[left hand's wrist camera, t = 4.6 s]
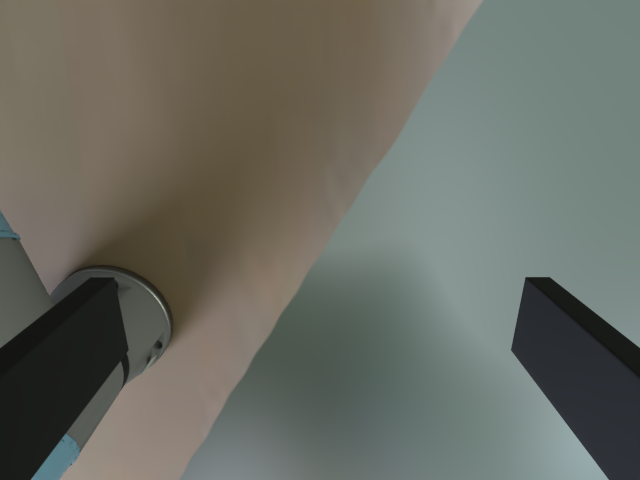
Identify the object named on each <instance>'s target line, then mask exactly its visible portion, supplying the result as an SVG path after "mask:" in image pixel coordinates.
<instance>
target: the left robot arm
mask: <svg viewBox="0 0 640 480" xmlns="http://www.w3.org/2000/svg"><path fill="white" fill-rule="evenodd" d="M20 239H21V238H20V236H19V235H18V234H16V233H14V232H13V230H12V229H11V227H10V225H9V224H8V222H7V221H6V219H5V217H4V216H3V214H2V213H1V211H0V480H59V479H60V478H61V476H62V475H63V474H64V472H65V471H66V470H67V469H68V467H69V466H70V465H72V464H73V463H74V462H75V461H76V460H77V458H78V456H79V453H80V452H81V450H82V449H83V447H84V446H85V444H86V443H87V441H88V440H89V438H90V437H91V435H92V434H93V432H94V430H95V429H96V427H97V426H98V424H99V423H100V421H101V420H102V418H103V417H104V415H105V414H106V412H107V411H108V409H109V408H110V406H111V405H112V403H113V401H114V400H115V398H116V397H117V395H118V394H119V392H120V391H121V389H122V388H123V386H124V385H125V384H126V383H128V382H129V381H131V380H132V379H134V378H135V377H136V376H138V375H139V374H141V373H142V374H143V373H145V372H146V371H147V369H148V368H149V367H151V366H152V365H153V364H154V363H155V362H156V361H157V360H158V359H159V358H160V357H161V356H162V354H163V353H164V351H165V349H166V348H167V346H168V344H169V342H170V340H171V337H172V332H173V319H172V314H171V311H170V308H169V306H168V304H167V302H166V300H165V299H164V297H163V296H162V294H161V293H160V292H159V291H158V290H157V289H156V288H155V287H154V286H153V285H152V284H151V283H150V282H148V281H147V280H146V279H144V278H143V277H141V276H139V275H137V274H136V273H133V272H131V271H128V270H125V269H122V268H118V267H113V266H94V267H88V268H85V269H82V270H80V271H77V272H76V273H74V274H72V275H71V276H69V277H68V278H67V279H65V280H64V281H62V282H61V283H60V284H59V285H58V286H57V287H56V289H55V290H54V291H53V292H52V293H51V295H50V296H49V295H48V293H47V291H46V289H45V287H44V285H43V283H42V282H41V280H40V278H39V276H38V274H37V272H36V270H35V269H34V267H33V265H32V263H31V261H30V259H29V257H28V256H27V254H26V252H25V250H24V248H23V246H22V244H21V243H20V241H19V240H20ZM511 351H512V352H513V353H514V355H515V356H516V357H517V359H518V360H519V361H520V363H521V364H522V365H523V366H524V368H525V369H526V370H527V372H528V373H529V374H530V376H531V377H532V378H533V380H534V381H535V382H536V384H537V385H538V386H539V388H540V389H541V390H542V392H543V393H544V394H545V396H546V397H547V398H548V399H549V401H550V402H551V404H552V405H553V406H554V407H555V409H556V410H557V411H558V413H559V414H560V415H561V417H562V418H563V419H564V421H565V422H566V423H567V425H568V426H569V427H570V429H571V430H572V431H573V433H574V434H575V435H576V437H577V438H578V439H579V441H580V442H581V443H582V445H583V446H584V447H585V449H586V450H587V451H588V453H589V454H590V455H591V456H592V458H593V459H594V460H595V462H596V463H597V464H598V466H599V467H600V468H601V470H602V471H603V472H604V474H605V475H606V476H607V478H608V479H609V480H640V348H639V347H638V346H636V345H635V344H634V343H633V342H631V341H630V340H629V339H628V338H626V337H625V336H624V335H622V334H621V333H620V332H619V331H617V330H616V329H615V328H614V327H612V326H611V325H610V324H608V323H607V322H606V321H605V320H603V319H602V318H601V317H600V316H598V315H597V314H596V313H594V312H593V311H592V310H591V309H589V308H588V307H587V306H586V305H584V304H583V303H582V302H580V301H579V300H578V299H577V298H575V297H574V296H573V295H571V294H570V293H569V292H568V291H566V290H565V289H564V288H563V287H561V286H560V285H559V284H557V283H556V282H555V281H554V280H552V279H551V278H550V277H526V278H525V283H524V288H523V293H522V298H521V303H520V308H519V313H518V318H517V323H516V328H515V333H514V338H513V343H512V348H511ZM142 374H141V375H142Z"/></svg>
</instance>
